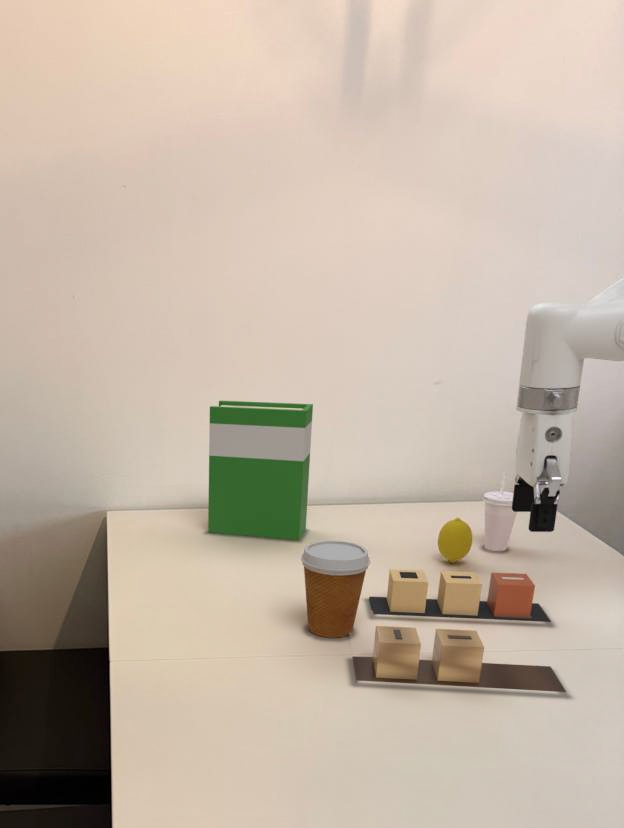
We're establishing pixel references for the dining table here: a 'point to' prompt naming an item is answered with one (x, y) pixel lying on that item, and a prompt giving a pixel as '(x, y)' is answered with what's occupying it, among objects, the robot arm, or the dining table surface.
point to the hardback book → (259, 468)
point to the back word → (440, 597)
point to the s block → (510, 594)
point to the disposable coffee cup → (333, 585)
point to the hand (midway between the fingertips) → (531, 520)
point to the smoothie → (498, 518)
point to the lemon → (455, 540)
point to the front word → (446, 663)
